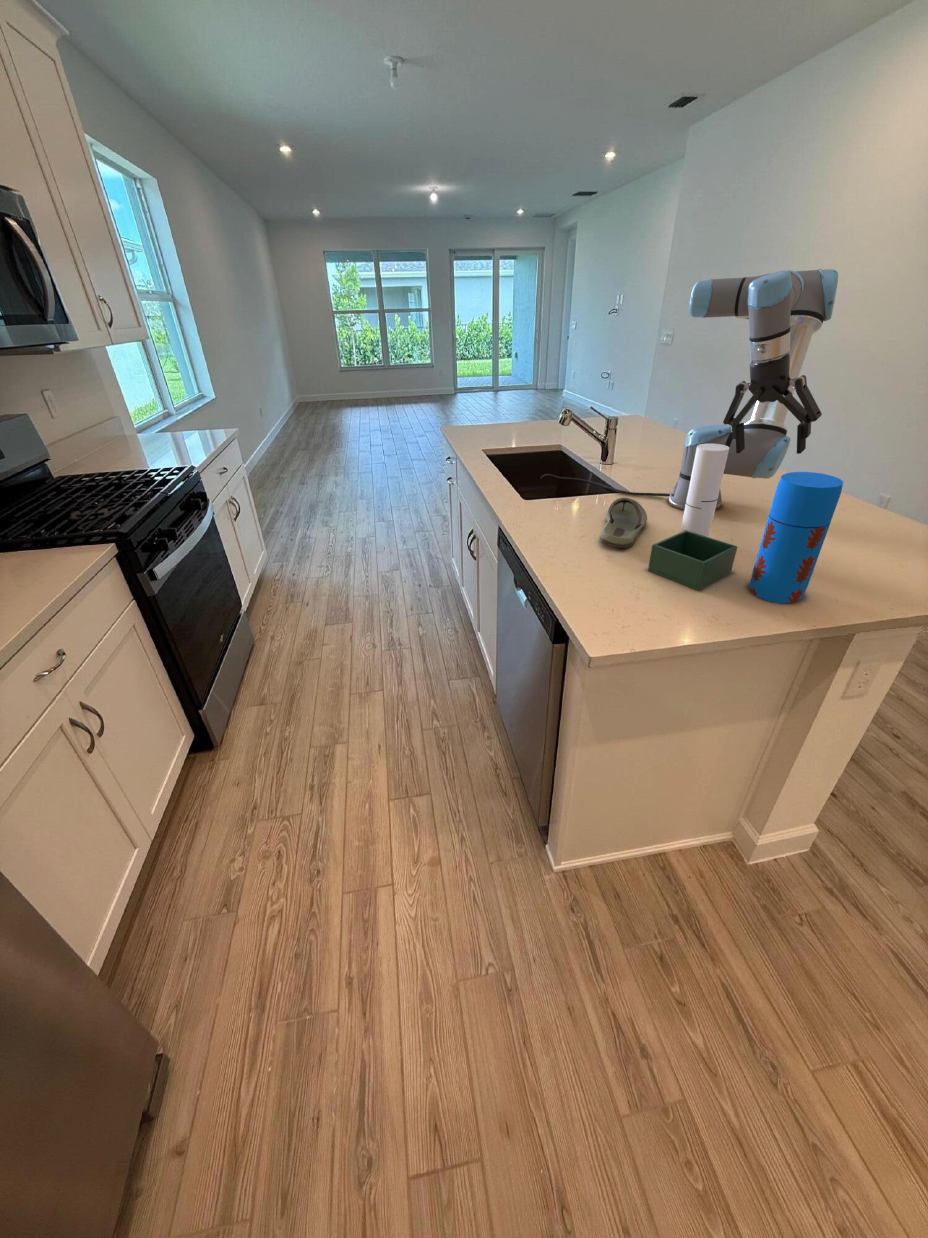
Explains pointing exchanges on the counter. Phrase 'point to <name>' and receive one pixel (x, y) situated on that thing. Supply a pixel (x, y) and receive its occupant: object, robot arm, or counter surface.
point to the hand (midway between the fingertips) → (769, 451)
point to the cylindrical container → (704, 488)
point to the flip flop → (623, 523)
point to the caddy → (692, 559)
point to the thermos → (794, 535)
